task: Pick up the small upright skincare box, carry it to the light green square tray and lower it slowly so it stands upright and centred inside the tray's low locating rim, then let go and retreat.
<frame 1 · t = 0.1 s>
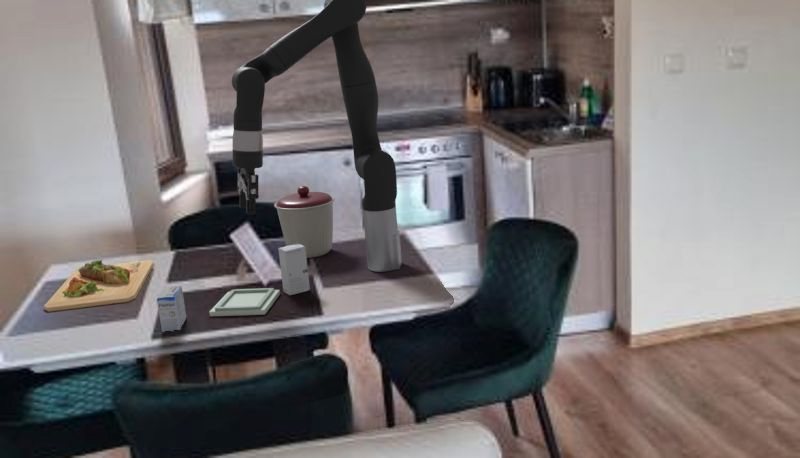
hand: (247, 211, 195), 22 cm above the table, tool pointing down, fingers open, 8 cm apart
light green square tray: (246, 304, 193), on the table
skincare box: (297, 291, 200), on the table
medicine box: (175, 326, 183), on the table
canister: (310, 254, 232), on the table
cutting board: (104, 288, 218), on the table
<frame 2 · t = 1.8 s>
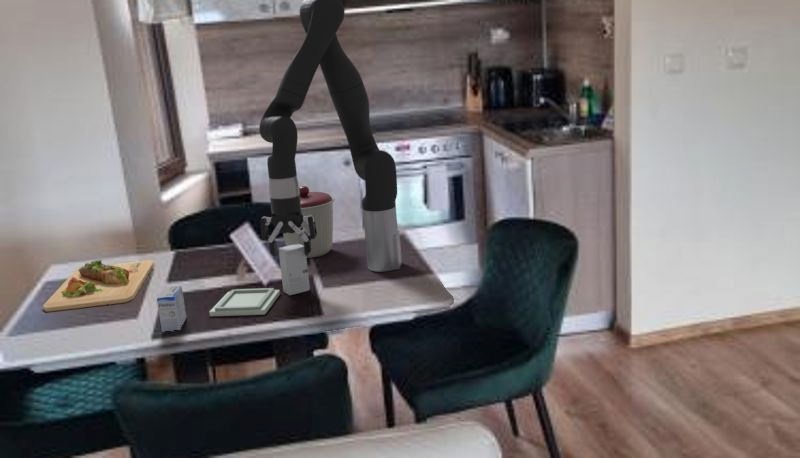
hand: (291, 255, 197), 10 cm above the table, tool pointing down, fingers open, 8 cm apart
nothing on the table moved.
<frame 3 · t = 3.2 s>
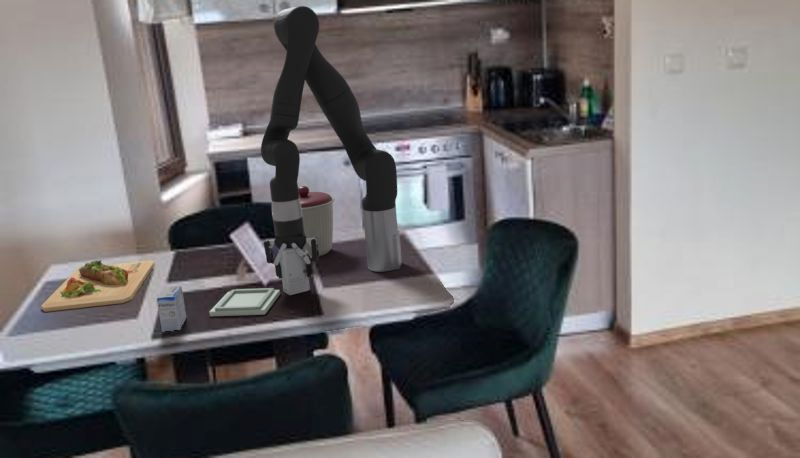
hand: (295, 276, 199), 4 cm above the table, tool pointing down, fingers closed on skincare box, 7 cm apart
skincare box: (297, 291, 200), on the table, touching gripper
everything else where it was.
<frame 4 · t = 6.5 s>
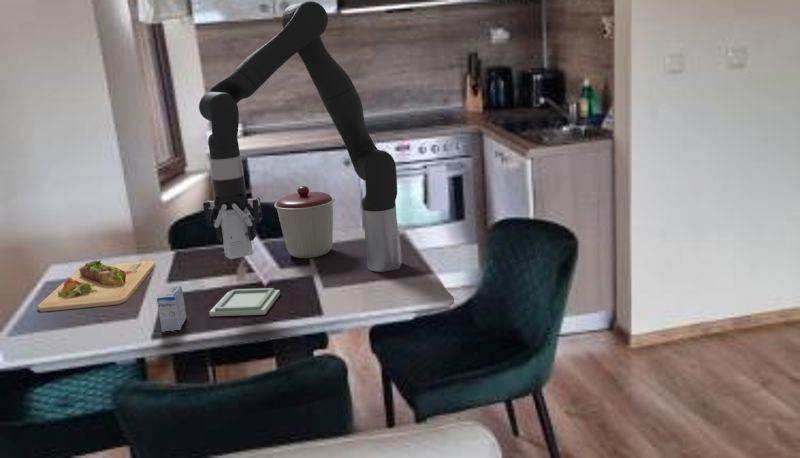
hand: (237, 240, 188), 17 cm above the table, tool pointing down, fingers closed on skincare box, 7 cm apart
skincare box: (239, 256, 189), point 13 cm above the table, touching gripper
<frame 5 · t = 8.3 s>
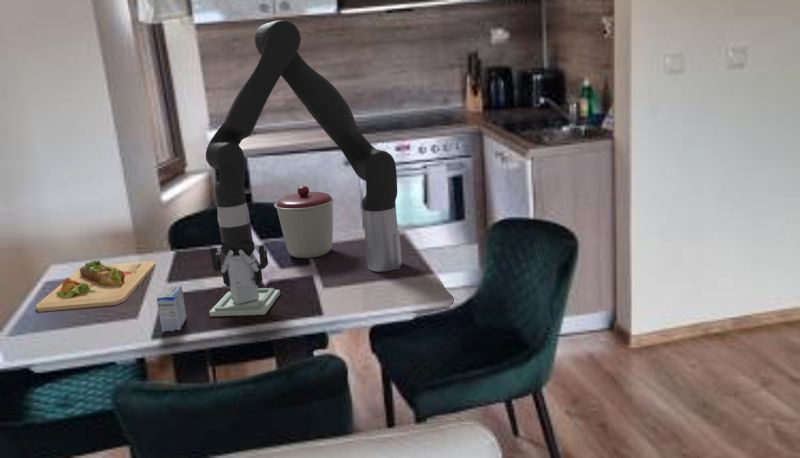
hand: (243, 284, 191), 5 cm above the table, tool pointing down, fingers closed on skincare box, 7 cm apart
skincare box: (246, 300, 192), point 1 cm above the table, touching gripper
when the fingers open (5 cm above the table, at t = 9.6 s): skincare box stays where it is, resting on light green square tray.
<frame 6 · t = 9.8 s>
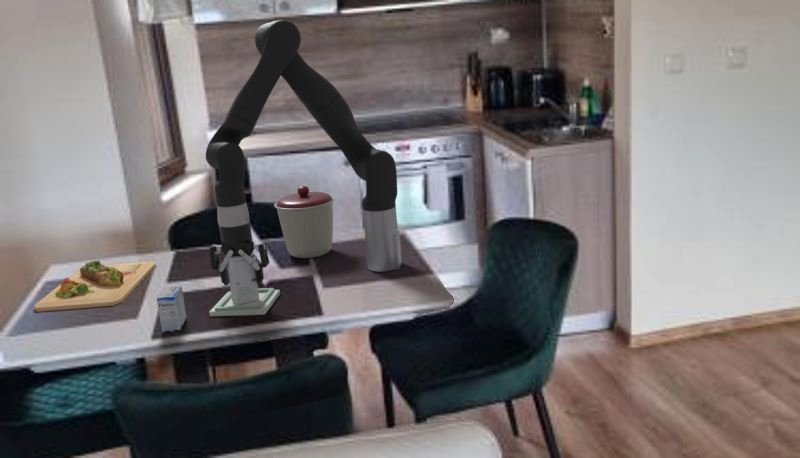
hand: (243, 283, 191), 6 cm above the table, tool pointing down, fingers open, 8 cm apart
skincare box: (246, 301, 193), point 1 cm above the table, touching light green square tray
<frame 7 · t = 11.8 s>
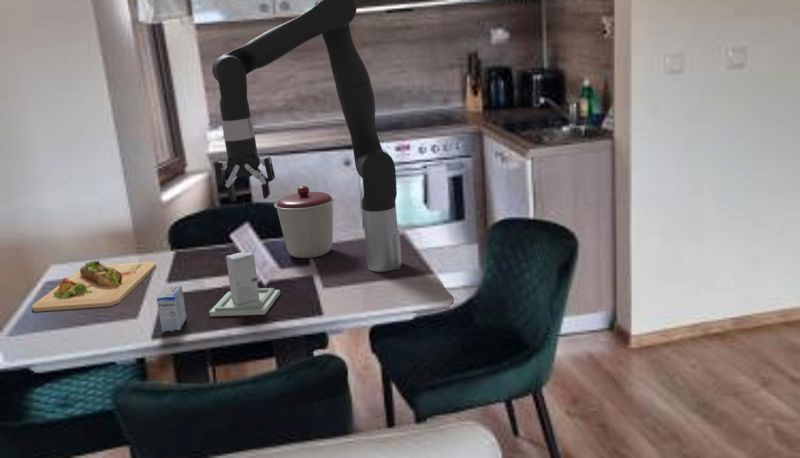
hand: (249, 199, 195), 25 cm above the table, tool pointing down, fingers open, 8 cm apart
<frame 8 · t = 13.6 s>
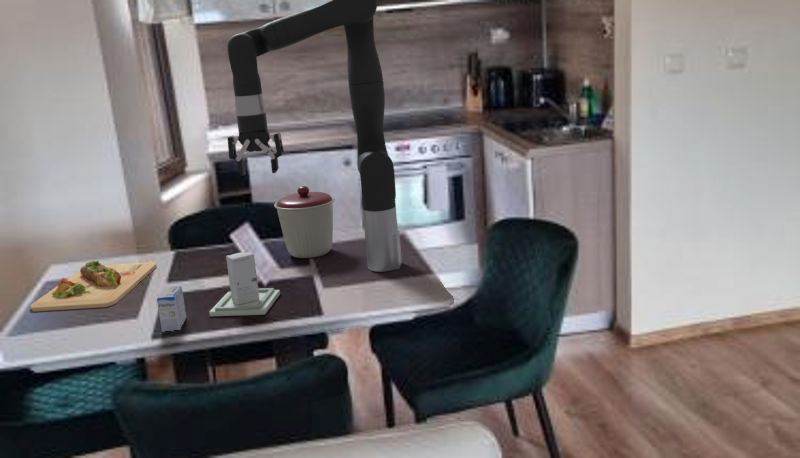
hand: (259, 173, 202), 30 cm above the table, tool pointing down, fingers open, 8 cm apart
at the end: skincare box 0.1 cm off-centre on the light green square tray, point 1.0 cm above the light green square tray's base; skincare box tilted 0°; the gripper is holding nothing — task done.
